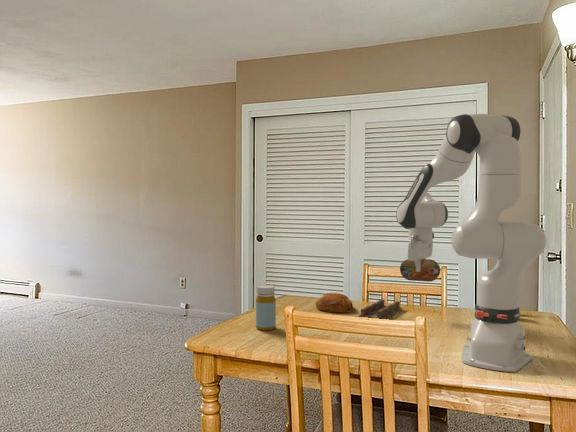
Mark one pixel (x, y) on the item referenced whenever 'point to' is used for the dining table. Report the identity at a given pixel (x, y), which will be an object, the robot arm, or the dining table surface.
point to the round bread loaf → (334, 303)
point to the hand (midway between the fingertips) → (420, 270)
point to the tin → (427, 273)
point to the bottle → (265, 308)
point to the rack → (380, 310)
